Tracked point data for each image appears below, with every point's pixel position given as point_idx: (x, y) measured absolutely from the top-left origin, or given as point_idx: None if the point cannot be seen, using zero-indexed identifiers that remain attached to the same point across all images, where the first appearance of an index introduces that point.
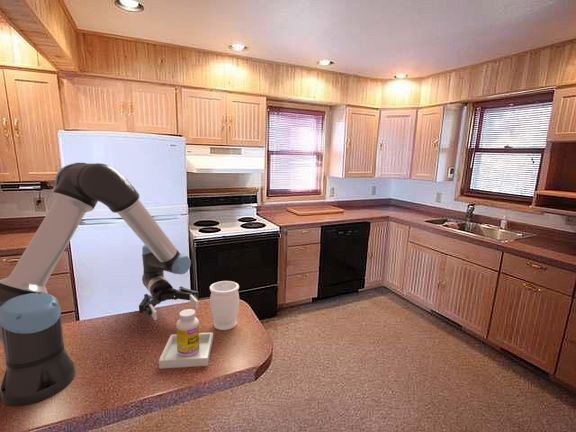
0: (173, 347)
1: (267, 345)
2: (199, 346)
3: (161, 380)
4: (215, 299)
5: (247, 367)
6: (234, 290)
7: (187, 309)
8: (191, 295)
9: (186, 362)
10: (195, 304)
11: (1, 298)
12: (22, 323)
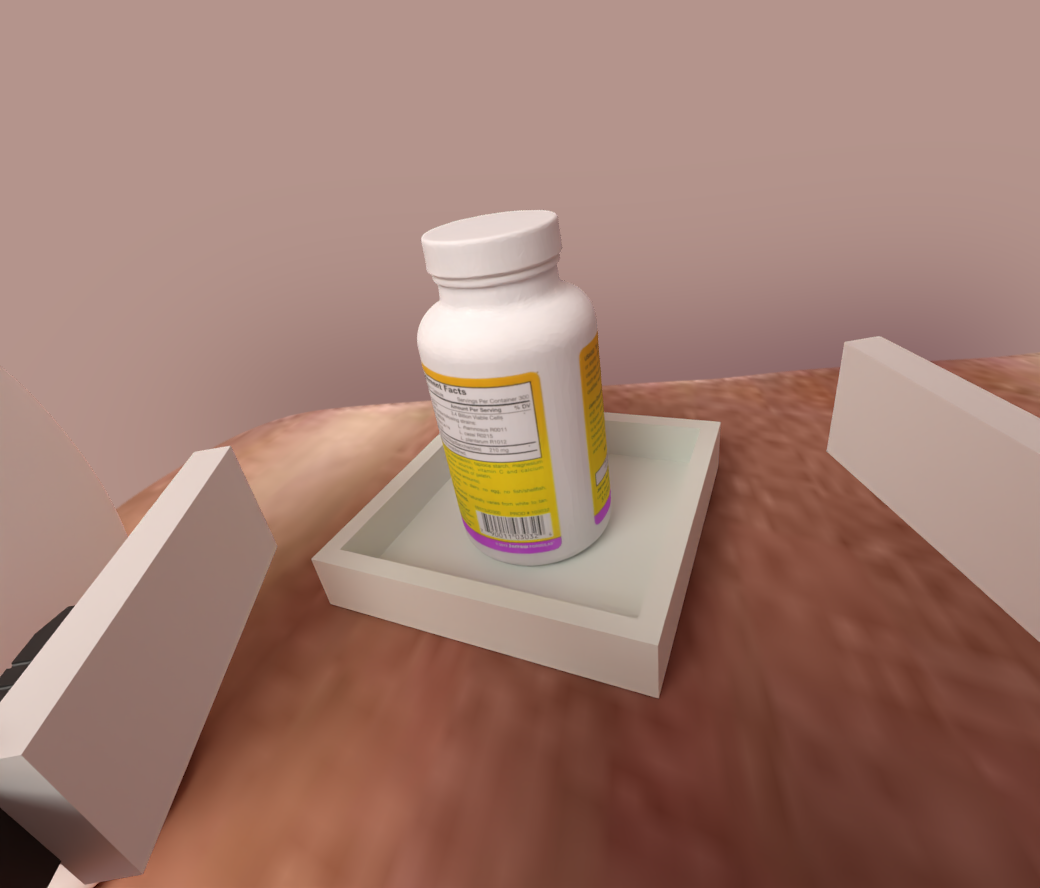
0: (637, 581)
1: (163, 478)
2: (459, 539)
3: (693, 415)
4: (32, 410)
5: (349, 409)
6: None
7: (470, 238)
8: (37, 690)
9: None
10: (244, 523)
11: None
12: None
